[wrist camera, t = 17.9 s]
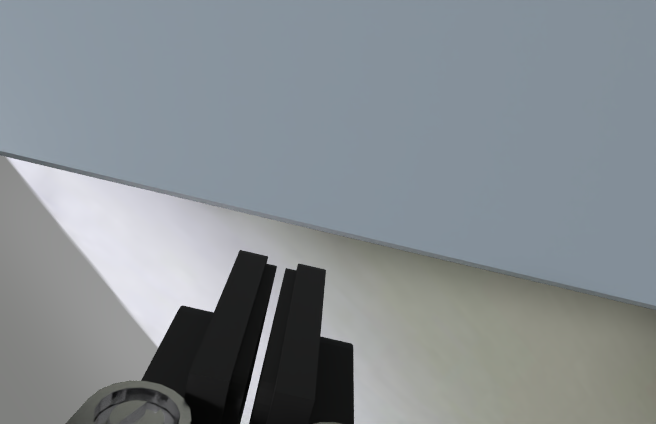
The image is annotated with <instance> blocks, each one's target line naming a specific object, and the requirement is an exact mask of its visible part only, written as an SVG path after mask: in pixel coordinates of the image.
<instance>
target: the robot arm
mask: <svg viewBox="0 0 656 424" xmlns="http://www.w3.org/2000/svg"><path fill="white" fill-rule="evenodd" d="M267 259H268V256H264V255H259V254H255V253H251V252H246V251H242V250H240V251H239V254H238V256H237V258H236V261H235V263H234V266H233V268H232V270H231V273H230V275H229V278H228V280H227V282H226V285H225V287H224V290H223V292H222V294H221V297H220V299H219V302H218V304H217V307H216V309H215V311H214V313H213V312H209V311H204V310H200V309H195V308H191V307H186V306H181V307H180V309H179V310H178V312H177V314H176V316H175V318H174V319H173V321H172V323H171V325H170V327H169V329H168V331H167V333H166V335H165V337H164V338H163V340H162V342H161V344H160V346H159V348H158V350H157V352H156V354H155V356H154V357H153V360H152V361H151V363H150V365H149V367H148V369H147V371H146V372H145V375H144V377H143V378H142V380H141V381H126V382H120V383H115V384H112V385H110V386H107V387H105V388H102V389H100V390H99V391H97V392H96V393H95V394H94V395H92V396H91V397H90V398H89V399H88V400H87V401H86V402H85V403H84V404H83V405H82V406H81V407H80V408H79V410H78V411H77V412H76V413H75V414H74V415H73V416H72V417H71V418H70V419H69V421H68V422H67V423H66V424H240V422H241V418H242V414H243V410H244V406H245V402H246V398H247V394H248V389H249V385H250V381H251V377H252V372H253V368H254V364H255V359H256V355H257V351H258V346H259V342H260V338H261V333H262V329H263V325H264V320H265V316H266V312H267V307H268V303H269V299H270V294H271V290H272V286H273V281H274V277H275V273H276V268H277V266H274V265H270V264H267ZM325 274H326V270H324V269H320V268H316V267H311V266H307V265H303V264H298V266H297V270H291V269H287V268H286V270H285V274H284V278H283V282H282V286H281V291H280V295H279V299H278V303H277V308H276V312H275V316H274V320H273V324H272V329H271V333H270V337H269V341H268V346H267V350H266V354H265V358H264V362H263V367H262V371H261V375H260V379H259V384H258V388H257V392H256V396H255V401H254V405H253V409H252V414H251V418H250V422H249V424H354V383H353V345H352V344H351V343H346V342H342V341H338V340H333V339H329V338H324V337H320V333H321V321H322V309H323V298H324V286H325Z"/></svg>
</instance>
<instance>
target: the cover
mask: <svg viewBox="0 0 656 424" xmlns="http://www.w3.org/2000/svg"><path fill="white" fill-rule="evenodd" d="M0 155H2V156H6V157H10V158H14V159H19V160H23V161H27V162H31V163H35V164H40V165H44V166H48V167H52V168H57V169H61V170H65V171H69V172H74V173H78V174H82V175H86V176H90V177H95V178H99V179H103V180H107V181H112V182H116V183H120V184H124V185H129V186H133V187H137V188H141V189H146V190H150V191H154V192H158V193H162V194H167V195H171V196H175V197H179V198H184V199H188V200H192V201H196V202H201V203H205V204H209V205H213V206H218V207H222V208H226V209H230V210H234V211H239V212H243V213H247V214H251V215H256V216H260V217H264V218H268V219H273V220H277V221H281V222H285V223H290V224H294V225H298V226H302V227H306V228H311V229H315V230H319V231H323V232H328V233H332V234H336V235H340V236H345V237H349V238H353V239H357V240H362V241H366V242H370V243H374V244H378V245H383V246H387V247H391V248H395V249H400V250H404V251H408V252H412V253H417V254H421V255H425V256H429V257H433V258H438V259H442V260H446V261H450V262H455V263H459V264H463V265H467V266H472V267H476V268H480V269H484V270H489V271H493V272H497V273H501V274H505V275H510V276H514V277H518V278H522V279H527V280H531V281H535V282H539V283H544V284H548V285H552V286H556V287H561V288H565V289H569V290H573V291H577V292H582V293H586V294H590V295H594V296H599V297H603V298H607V299H611V300H616V301H620V302H624V303H628V304H633V305H637V306H641V307H645V308H649V309H654V310H656V0H0Z"/></svg>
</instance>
